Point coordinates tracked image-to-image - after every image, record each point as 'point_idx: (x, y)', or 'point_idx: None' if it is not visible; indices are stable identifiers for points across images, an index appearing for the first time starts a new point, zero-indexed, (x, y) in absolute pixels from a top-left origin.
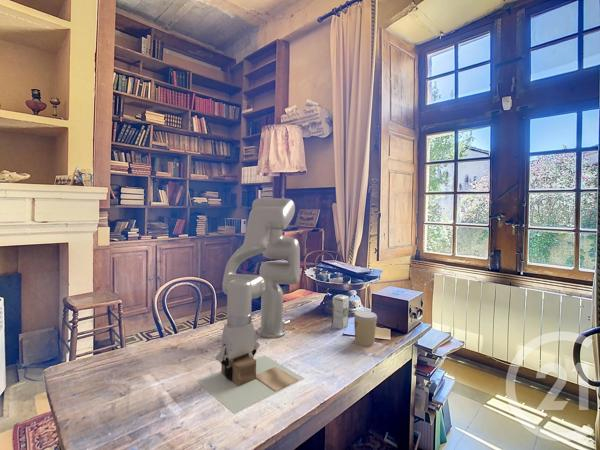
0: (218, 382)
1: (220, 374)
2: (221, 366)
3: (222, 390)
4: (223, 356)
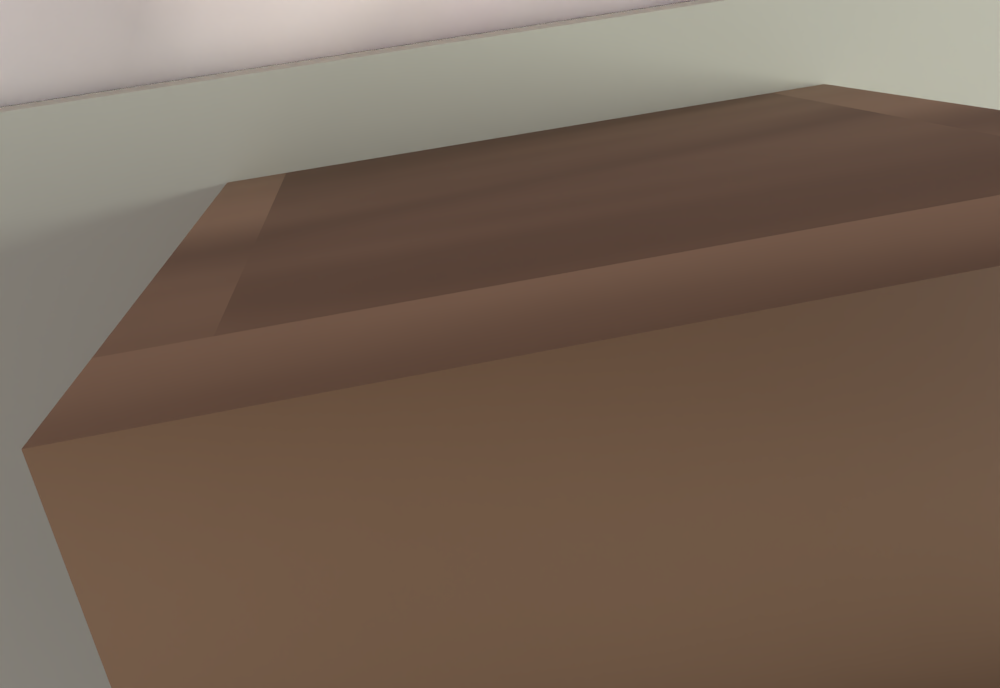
0: (26, 577)
1: (187, 223)
2: (187, 246)
3: None
4: (117, 677)
